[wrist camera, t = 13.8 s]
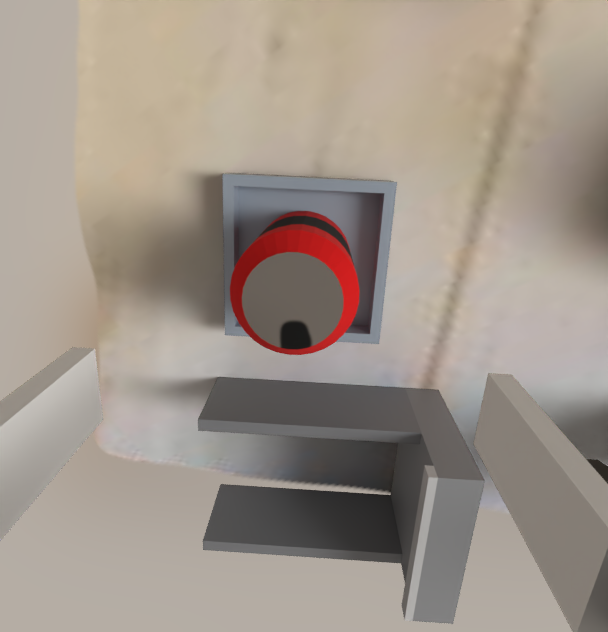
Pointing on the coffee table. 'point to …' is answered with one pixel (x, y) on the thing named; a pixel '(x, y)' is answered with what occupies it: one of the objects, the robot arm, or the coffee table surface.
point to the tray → (328, 200)
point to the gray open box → (355, 508)
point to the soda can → (296, 285)
